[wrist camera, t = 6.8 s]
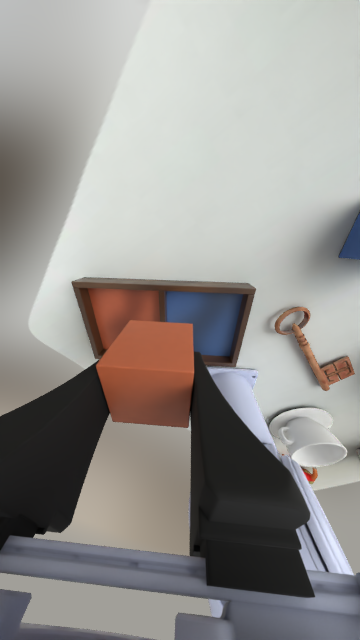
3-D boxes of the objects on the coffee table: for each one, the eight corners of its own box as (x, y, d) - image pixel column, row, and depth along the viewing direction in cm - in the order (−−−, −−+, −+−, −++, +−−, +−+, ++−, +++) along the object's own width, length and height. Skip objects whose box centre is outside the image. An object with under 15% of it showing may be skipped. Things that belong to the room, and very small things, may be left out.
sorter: (248, 283, 16) (256, 288, 14) (231, 356, 21) (235, 367, 19) (84, 277, 17) (70, 281, 15) (103, 348, 21) (95, 358, 20)
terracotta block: (188, 370, 13) (188, 428, 9) (136, 366, 13) (112, 422, 9) (192, 323, 11) (194, 372, 7) (129, 319, 11) (94, 365, 7)
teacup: (344, 412, 24) (376, 447, 20) (305, 441, 29) (324, 475, 25) (288, 399, 24) (308, 432, 20) (257, 431, 28) (268, 463, 24)
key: (351, 373, 21) (319, 288, 16) (358, 378, 20) (327, 291, 15) (309, 391, 22) (268, 319, 17) (314, 397, 22) (272, 323, 17)
